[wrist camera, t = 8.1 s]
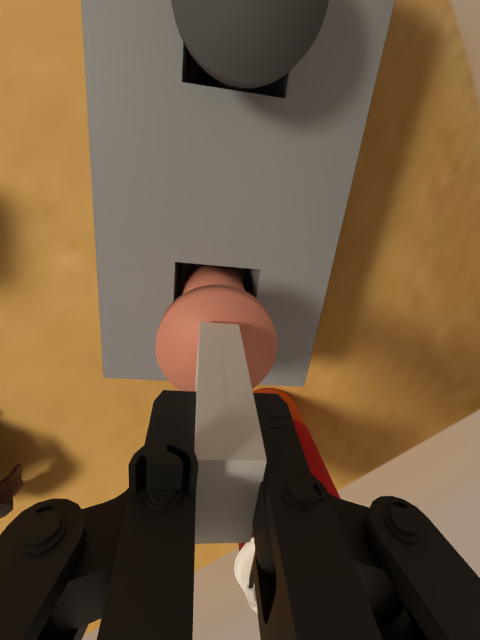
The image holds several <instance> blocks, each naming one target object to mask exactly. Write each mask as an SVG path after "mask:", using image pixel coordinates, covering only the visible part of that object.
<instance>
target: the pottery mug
mask: <svg viewBox="0 0 480 640" xmlns="http://www.w3.org/2000/svg"><path fill="white" fill-rule="evenodd" d="M21 472H22V471H21V464H17V465H16V466H15V468H14V469H13V470H12V472H11V473H10V474H9V475H7V476H6V477H5V478H4V479H3V480H1V481H0V518H2V517H4V516H6V515H7V514H9V512H11V511H12V510H13V497H14V495H15V494H16V493H17V492H18V491H19V490H20V488H21V487H22V486H23V481H22V480H21Z"/></svg>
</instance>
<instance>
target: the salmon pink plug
mask: <svg viewBox="0 0 480 640" xmlns="http://www.w3.org/2000/svg"><path fill="white" fill-rule="evenodd" d="M200 322H210V323H225V324H239V328H240V333H241V337H242V342H243V347H244V352H245V357H246V362H247V367H248V371H249V376H250V381H251V386H252V389H253V388H254V387H255V386H257V385H258V384H259V383H260V382H261V381H262V380H263V379H264V378H265V377H266V376H267V374H268V373H269V372H270V370H271V368H272V367H273V364H274V362H275V359H276V355H277V348H278V343H277V335H276V331H275V328H274V326H273V323H272V321H271V318H270V316H269V314H268V312H267V310H266V309H265V308H264V306H263V305H262V304H261V303H260V302H259V301H258V299H256V298H255V297H254V296H252V295H251V294H249V293H248V292H246V291H245V289H244V285H243V282H242V279H241V275H240V273H239V270H238V268H237V267H226V266H215V265H204V264H192V265H191V266H190V267H189V269H188V271H187V273H186V277H185V282H184V288H183V293H182V295H181V296H180V297H178V298H177V299H176V300H175V301H174V302H173V303H172V304H171V305H170V306H169V307H168V309H167V310H166V312H165V313H164V315H163V317H162V320H161V322H160V326H159V329H158V333H157V337H156V343H155V352H156V358H157V362H158V364H159V367H160V369H161V371H162V372H163V374H164V375H165V377H166V378H167V379H168V380H169V381H170V382H171V383H172V384H173V385H174V386H175V387H177V388H178V389H180V390H181V391H194V392H195V379H196V366H197V353H198V339H199V326H200Z"/></svg>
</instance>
